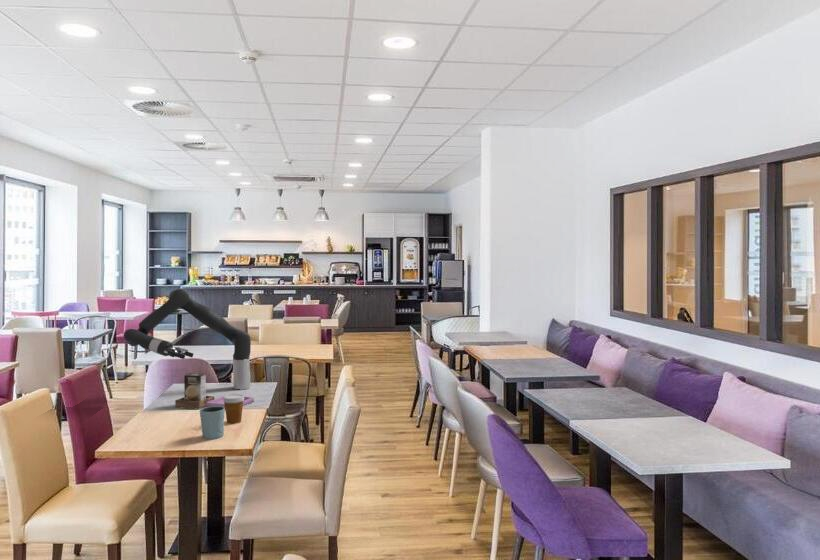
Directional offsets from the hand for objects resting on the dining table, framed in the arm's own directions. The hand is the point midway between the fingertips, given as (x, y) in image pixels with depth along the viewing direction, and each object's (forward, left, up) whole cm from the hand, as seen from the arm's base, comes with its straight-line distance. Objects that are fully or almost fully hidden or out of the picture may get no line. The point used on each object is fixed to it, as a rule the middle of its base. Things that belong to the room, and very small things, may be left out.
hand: (188, 356), depth 308 cm
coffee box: (+1, +4, -25) cm, 26 cm away
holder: (+1, +4, -25) cm, 25 cm away
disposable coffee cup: (+22, +41, -25) cm, 53 cm away
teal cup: (+44, +45, -25) cm, 68 cm away
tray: (-5, +21, -25) cm, 33 cm away
